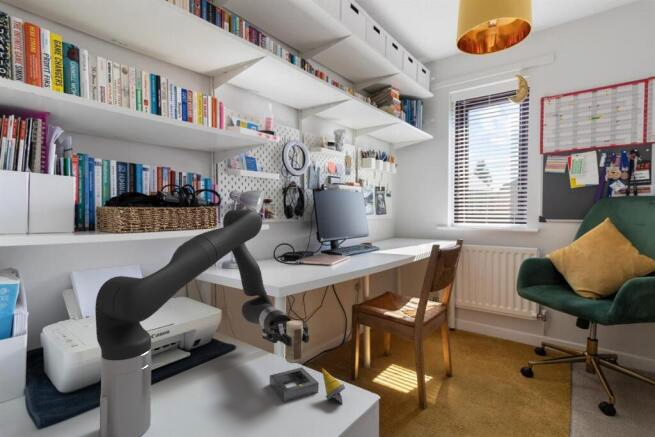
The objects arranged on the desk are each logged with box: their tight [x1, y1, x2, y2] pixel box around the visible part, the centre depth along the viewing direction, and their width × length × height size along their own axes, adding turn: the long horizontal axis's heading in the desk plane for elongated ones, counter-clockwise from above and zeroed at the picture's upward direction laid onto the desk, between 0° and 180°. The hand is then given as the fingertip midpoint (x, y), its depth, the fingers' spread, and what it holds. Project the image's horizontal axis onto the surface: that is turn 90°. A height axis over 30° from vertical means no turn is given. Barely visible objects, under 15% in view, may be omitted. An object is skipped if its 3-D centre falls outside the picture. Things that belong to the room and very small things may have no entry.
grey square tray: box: [269, 367, 320, 403], centre depth 90 cm, size 10×10×3 cm
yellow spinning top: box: [321, 367, 346, 405], centre depth 85 cm, size 5×5×10 cm
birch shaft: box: [285, 320, 303, 364], centre depth 90 cm, size 4×4×10 cm
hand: (298, 340), depth 87 cm, fingers closed on birch shaft, 4 cm apart
